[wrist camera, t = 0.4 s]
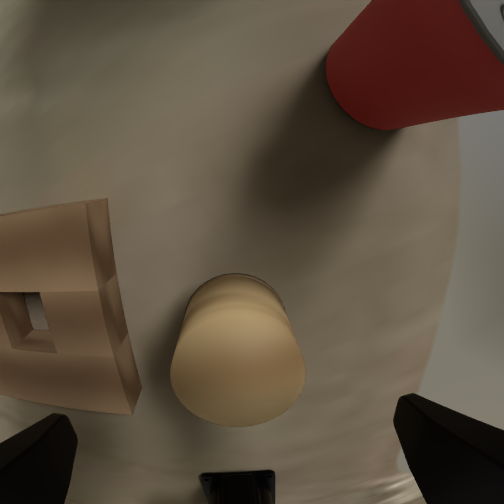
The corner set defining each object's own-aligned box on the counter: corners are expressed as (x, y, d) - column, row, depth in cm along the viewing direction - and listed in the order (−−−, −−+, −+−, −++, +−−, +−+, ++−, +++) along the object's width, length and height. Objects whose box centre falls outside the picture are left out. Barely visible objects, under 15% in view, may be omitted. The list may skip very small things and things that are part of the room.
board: (142, 387, 20) (132, 414, 17) (16, 374, 19) (-1, 394, 16) (107, 198, 17) (85, 203, 14) (-26, 219, 16) (-52, 227, 13)
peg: (277, 333, 19) (304, 421, 12) (196, 338, 19) (181, 429, 11) (276, 254, 18) (309, 313, 10) (187, 260, 18) (157, 323, 10)
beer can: (350, 146, 17) (510, 122, 5) (303, 47, 15) (392, -83, 4) (431, 116, 17) (581, 94, 5) (389, 27, 15) (506, -55, 3)
